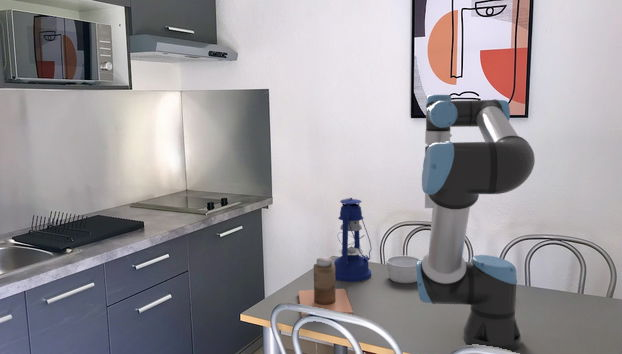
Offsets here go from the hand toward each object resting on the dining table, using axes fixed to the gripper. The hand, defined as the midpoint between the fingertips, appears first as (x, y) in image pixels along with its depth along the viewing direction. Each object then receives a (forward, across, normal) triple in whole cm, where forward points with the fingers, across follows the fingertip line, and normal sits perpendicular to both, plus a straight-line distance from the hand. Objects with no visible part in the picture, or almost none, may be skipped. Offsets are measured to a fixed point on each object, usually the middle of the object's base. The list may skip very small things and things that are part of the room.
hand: (435, 212), depth 168 cm
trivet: (+32, +6, +35) cm, 47 cm away
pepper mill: (+30, +6, +35) cm, 46 cm away
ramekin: (+31, +27, +2) cm, 41 cm away
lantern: (+31, +34, +21) cm, 50 cm away
